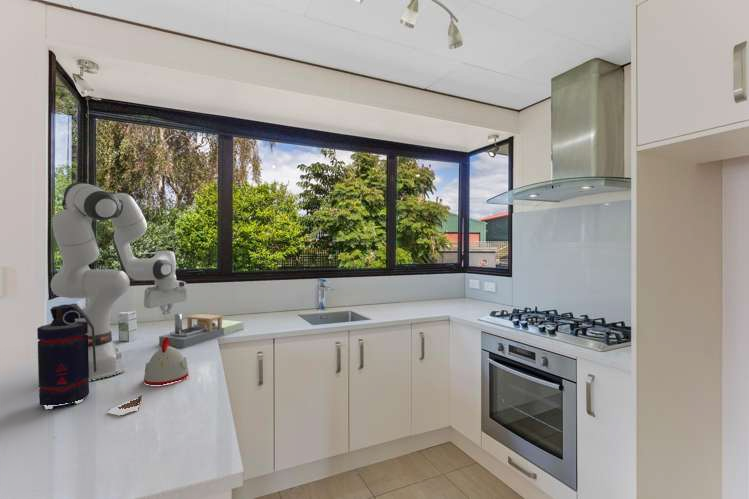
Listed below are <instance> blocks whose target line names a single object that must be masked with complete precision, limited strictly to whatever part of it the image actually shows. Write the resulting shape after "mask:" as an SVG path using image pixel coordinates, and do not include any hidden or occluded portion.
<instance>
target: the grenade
mask: <svg viewBox="0 0 749 499" xmlns="http://www.w3.org/2000/svg"><path fill="white" fill-rule="evenodd" d="M82 309H83V308H81V307H80V306H79V305H78V303H71V304H60V305H57V306H52V307H51V308H50V309H49V311H50V314H51V317H52V319H53V320H51V323H48V324H45V325H41V326H39V327H37V329H36V330H37V340H38V341H37V361H38V362H37V365H38V366H37V367H38V368H37V369H38V371H37V372H38V388H39V389H38V399H39V401H38V402H39V403H38V404H39V406H41V405H47V406H48V405H59V404H65V403H71V404H73V403H72V402H75V401H78V400H81V399H83V398H84V399H85V398H86V397H88V396H89V394H90V381H89V380H88V378H89V358H88V335H87V333H88V324H89V326H90V327H91V329H92V346H93V364H94V372H96V353H95V335H94V325H93V324H92V322H91V321H90V319H89V318H88V317H87V315H86V314H85V313H84V312H83V311H82ZM80 318H85V320H86V321H87V322H84V321H79V319H80ZM75 319H78V320H77V321H75Z"/></svg>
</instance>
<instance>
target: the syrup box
mask: <svg viewBox="0 0 749 499" xmlns="http://www.w3.org/2000/svg"><path fill="white" fill-rule="evenodd" d="M117 315H118V316H117V320H118V322H117V323H118V342H133V341H134V340H135V341H136V340H137V339H138V329H137V323H138V321H137V311H136V310H126V311H125V310H124V311H121V312H118V314H117Z"/></svg>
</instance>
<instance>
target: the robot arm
mask: <svg viewBox="0 0 749 499" xmlns="http://www.w3.org/2000/svg"><path fill="white" fill-rule="evenodd" d="M62 198H63V200H62V202H61V206H62V208H63V210H59V211H58V212H55V214H53V216H52V219H51V222H52V230H53V235H54V238H55V242H56V244H57V246H58V249H59V254H60V257H61V260H62V264H61V265H62V266H61V268H60V270H59V271H58V272H56V273H55V274H54V275H53V276H52V279H51V281H50V288H51V291H52V293H53V294H54V295H55V296H57V297H59V298H60V297H62V298H66V299H67V298H68V299H88V298H89V303H88V305H87V306H86V307H83V308H81V309H82V311H83V312H84V313H85V314H86V315H87V317H88V318H89V319H90V321H91V322H92V324H93V325H94V335H95V353H96V372H94V364H93V346H92V329H91V327H90V326H89V324H88V333H87V335H88V358H89V378H88V380H93V379H99V378H103V379H105V378H104V377H108V376H111V377H113V376H112V375H115V376H117V375H116V374H118V375H120V374H119V373H121V374H123V373H125V369H124V364H123V361H122V360H121V359H122V352H119V348H118V347H116V343H115V342H113V334H112V330H111V313H112V309H113V307H114V305H115V303H116V302H117V301H118V299H119V298H121V297H122V296H123V295H125V293H126V292H127V291H128V290H129V288H130V285H131V282H138V281H154V286H149V287H147V288H146V289H145V290H144V297H143V306H144V308H147V309H153V308H157V307H159V308H160V310H161V311H162V315H164V316H165V315H169V314H172V312H171V310H172V308H173V306H174V304H177V303H182V302H186V300H187V299H188V291H187V287H186V286H187V282H185V281H183V280H177V275H176V270H177V263H176V261H177V260H176V255H175V252H174V251H171V250H167V249H166V250H165V249H163V250H162V249H160V250H159V249H158V250H155V254H154V255H153V257H151V258H138V257H135V256H134V253H133V250H132V247H131V244H130V243H132V242H135V241H137V240H140V239H141V238H142V237H143V236H144V235H145V233H146V232H147V229H148V224H147V221H146V218H145V216H144V214H143V212H142V210H141V208H140V206H139V205H138V203H137V202H136V201H135V199H134V198H133V197H132V196H131V195H130V194H128V193H126V192H117V193H111V192H109V191H106V190H104V189H103V188H101V187H98V186H97V185H93V184H90V183H88V182H84V181H83V182H82V181H81V182H73V183H70V184H68V186H67V187H66V188H65V189H64V191H63V197H62ZM93 220H97V221H108V220H110V222H111V225H112V226H113V228H114V231H113V232H112V233H111V240H112V244H113V247H114V250H115V253H116V256H117V259H118V262H119V265H120V270H118V269H111V268H106V269H103V268H102V269H101V268H100V269H97V268H96V269H94V268H93V269H92V268H90V266H89V265H90V264H93V263H95V261H97V260H98V258H99V257H100V252H101V251H100V248H99V245H98V242H97V239H96V236H95V233H94V231H93V230H94V229H93V226H92V224H93ZM166 307H167V308H166ZM77 320H78V319H75V321H77ZM79 321H84V322H87V321H86V320H85V318H80V319H79ZM122 372H123V373H122ZM108 378H109V377H108ZM99 380H100V379H99Z"/></svg>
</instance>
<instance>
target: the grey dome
mask: <svg viewBox="0 0 749 499" xmlns="http://www.w3.org/2000/svg"><path fill="white" fill-rule="evenodd" d="M170 342H171V341H169V339H168V337H166V338H165V339H164V340H163V345H160V346H161V347H160V348H158V350H157V351H156V352H155V353H154V354H152V356H151V358H150V359H149V361H148V362H146V363H145V368H144V376H143V383H144V382H145V383H146V384H149V385H163V384H167V383H171V382H175V381H179V380H182V379H184V378H186V377H187V376H188V377H189V368H188V361H187V357H185V356H183V354H182V353H181V352H180V351H179V350H178V349H177V348H176V347H173V346H170Z"/></svg>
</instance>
